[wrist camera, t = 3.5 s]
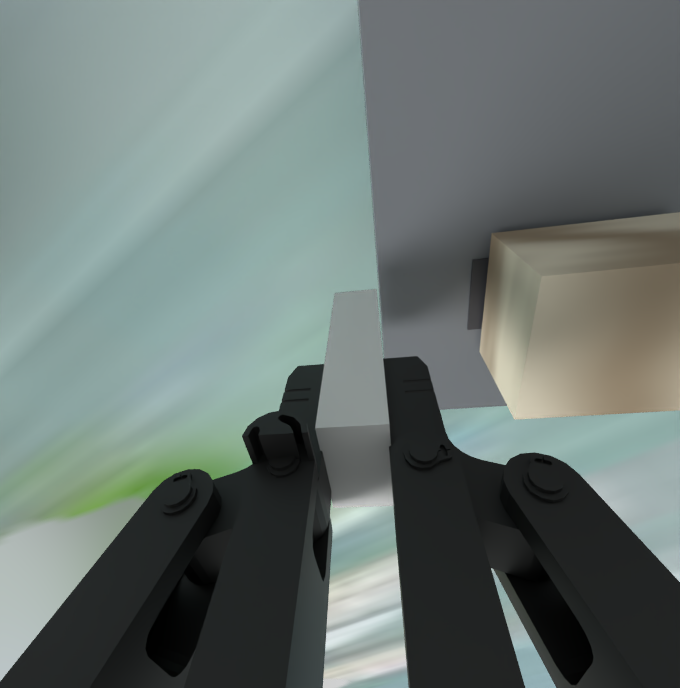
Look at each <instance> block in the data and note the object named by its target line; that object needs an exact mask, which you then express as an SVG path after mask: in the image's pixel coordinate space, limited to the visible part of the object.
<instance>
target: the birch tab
mask: <svg viewBox="0 0 680 688" xmlns="http://www.w3.org/2000/svg"><path fill="white" fill-rule="evenodd" d="M479 352H480V354H481V356H482V358H483V360H484V361H485V363H486V365H487V367H488V369H489V371H490V373H491V375H492V377H493V379H494V381H495V383H496V385H497V387H498V389H499V391H500V392H501V394H502V396H503V398H504V400H505V402H506V404H507V406H508V408H509V410H510V412H511V414H512V416H513V418H514V420H515V419H533V418H550V417H568V416H586V415H604V414H622V413H640V412H658V411H675V410H680V212H677V213H668V214H659V215H650V216H641V217H632V218H623V219H614V220H605V221H596V222H587V223H578V224H569V225H560V226H551V227H542V228H533V229H524V230H515V231H506V232H497V233H492V234H491V244H490V253H489V263H488V273H487V283H486V292H485V302H484V312H483V322H482V331H481V341H480V351H479Z"/></svg>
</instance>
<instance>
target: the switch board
mask: <svg viewBox="0 0 680 688" xmlns="http://www.w3.org/2000/svg"><path fill="white" fill-rule="evenodd" d="M358 13H359V27H360V40H361V54H362V67H363V81H364V95H365V108H366V122H367V135H368V149H369V163H370V176H371V190H372V203H373V217H374V231H375V244H376V258H377V272H378V285H379V299H380V312H381V326H382V340H383V353H384V358H398V357H411V356H418V357H419V358H420V359H421V360H422V361H423V362H424V363H425V364H426V365H427V366H428V370H429V373H430V377H431V381H432V384H433V388H434V392H435V395H436V399H437V403H438V406H439V410H442V409H459V408H475V407H492V406H507V404H506V402H505V400H504V398H503V396H502V394H501V392H500V391H499V389H498V387H497V385H496V383H495V381H494V379H493V377H492V375H491V373H490V371H489V369H488V367H487V365H486V363H485V361H484V360H483V358H482V356H481V354H480V352H479V351H480V341H481V331H482V322H483V312H484V302H485V292H486V283H487V273H488V263H489V253H490V244H491V234H492V233H497V232H506V231H515V230H524V229H533V228H542V227H551V226H560V225H569V224H578V223H587V222H596V221H605V220H614V219H623V218H632V217H641V216H650V215H659V214H668V213H677V212H680V0H358Z"/></svg>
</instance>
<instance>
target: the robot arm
mask: <svg viewBox="0 0 680 688" xmlns="http://www.w3.org/2000/svg"><path fill="white" fill-rule="evenodd" d="M242 437H243V440H244V443H245V445H246V448H247V450H248V453H249V455H250V458H251V460H252V463H253V464H252V465H251V466H249V467H247V468H246V469H243V470H241V471H238V472H236V473H233V474H230V475H227V476H224V477H220V478H217V479H214V480H212V479H211V477H210V475H209V474H208V473H206V472H204V471H202V470H200V469H188V470H185V471H182V472H179V473H176V474H174V475H172V476H171V477H169V478H167V479H166V480H164V481H163V482H162V483H161V484H160V485H159V486H158V487H157V488H156V489H155V490H154V491H153V492H152V493H151V494H150V495H149V497H148V498H147V499H146V500H145V502H144V503H143V504H142V505H141V507H140V508H139V509H138V511H137V512H136V513H135V514H134V516H133V517H132V518H131V519H130V521H129V522H128V523H127V524H126V525H125V527H124V528H123V529H122V530H121V532H120V533H119V534H118V536H117V537H116V538H115V539H114V540H113V542H112V543H111V544H110V545H109V547H108V548H107V549H106V550H105V552H104V553H103V554H102V555H101V557H100V558H99V559H98V560H97V562H96V563H95V564H94V566H93V567H92V568H91V569H90V570H89V572H88V573H87V574H86V575H85V577H84V578H83V579H82V580H81V582H80V583H79V584H78V585H77V587H76V588H75V589H74V590H73V592H72V593H71V594H70V595H69V597H68V598H67V599H66V600H65V602H64V603H63V604H62V605H61V607H60V608H59V609H58V610H57V611H56V613H55V614H54V615H53V617H52V618H51V619H50V620H49V622H48V623H47V624H46V625H45V627H44V628H43V629H42V630H41V631H40V633H39V634H38V635H37V637H36V638H35V639H34V640H33V641H32V643H31V644H30V645H29V646H28V648H27V649H26V650H25V652H24V653H23V654H22V655H21V656H20V658H19V659H18V660H17V662H16V663H15V664H14V665H13V666H12V668H11V669H10V670H9V671H8V673H7V674H6V675H5V676H4V678H3V679H2V680H1V681H0V688H323V687H322V686H323V672H324V657H325V641H326V625H327V610H328V594H329V578H330V563H331V547H332V525H331V519H330V505H331V500H332V504H333V508H336V507H369V506H394V516H395V530H396V543H397V554H398V566H399V577H400V589H401V601H402V613H403V625H404V637H405V649H406V661H407V673H408V685H409V688H525V685H524V682H523V679H522V675H521V672H520V668H519V665H518V661H517V658H516V654H515V651H514V647H513V644H512V640H511V637H510V633H509V630H508V627H507V623H506V620H505V616H504V613H503V609H502V606H501V602H500V599H499V595H498V592H497V588H496V585H495V581H494V578H493V575H492V571H491V568H493V569H494V571H495V573H496V575H497V576H498V578H499V580H500V582H501V584H502V586H503V588H504V590H505V592H506V593H507V595H508V597H509V599H510V601H511V603H512V605H513V607H514V608H515V610H516V612H517V614H518V616H519V618H520V620H521V622H522V624H523V625H524V627H525V629H526V631H527V633H528V635H529V637H530V639H531V640H532V642H533V644H534V646H535V648H536V650H537V652H538V654H539V656H540V657H541V659H542V661H543V663H544V665H545V667H546V669H547V671H548V673H549V674H550V676H551V678H552V680H553V682H554V684H555V686H556V688H680V582H679V581H678V580H677V579H676V578H675V577H674V576H673V575H672V573H671V572H670V571H669V570H668V569H667V568H666V567H665V566H664V565H663V564H662V563H661V562H660V561H659V560H658V558H657V557H656V556H655V555H654V554H653V553H652V552H651V551H650V550H649V549H648V548H647V547H646V546H645V544H644V543H643V542H642V541H641V540H640V539H639V538H638V537H637V536H636V535H635V534H634V533H633V532H632V530H631V529H630V528H629V527H628V526H627V525H626V524H625V523H624V522H623V521H622V520H621V519H620V518H619V517H618V515H617V514H616V513H615V512H614V511H613V510H612V509H611V508H610V507H609V506H608V505H607V504H606V503H605V501H604V500H603V499H602V498H601V497H600V496H599V495H598V494H597V493H596V492H595V491H594V490H593V489H592V487H591V486H590V485H589V484H588V483H587V482H586V481H585V480H584V479H583V478H582V477H581V476H580V475H579V474H578V473H577V472H576V471H575V470H574V469H572V468H571V467H570V466H569V465H567V464H566V463H564V462H562V461H560V460H558V459H556V458H554V457H552V456H549V455H544V454H539V453H524V454H519V455H517V456H515V457H513V458H511V459H510V460H509V461H508V463H507V464H506V465H502V464H497V463H493V462H488V461H484V460H480V459H477V458H474V457H471V456H469V455H467V454H465V453H463V452H461V451H460V450H459V449H458V448H456V447H455V446H454V445H453V444H452V442H451V441H450V440H449V439H448V436H447V434H446V432H445V428H444V425H443V421H442V417H441V414H440V410H439V406H438V403H437V399H436V395H435V392H434V388H433V384H432V381H431V377H430V373H429V370H428V366H427V365H426V364H425V363H424V362H423V361H422V360H421V359H420V358H419V357H418V356H411V357H398V358H384V359H383V353H382V342H381V332H380V322H379V311H378V301H377V291H376V289H371V290H361V291H350V292H340V293H335V294H334V301H333V308H332V315H331V322H330V329H329V336H328V343H327V349H326V356H325V363H324V364H320V365H307V366H298V367H297V368H296V369H295V370H294V371H293V372H292V374H291V375H290V376H289V377H288V380H287V384H286V387H285V392H284V394H283V398H282V403H281V405H280V409H279V411H276V412H271V413H268V414H266V415H264V416H261V417H259V418H257V419H256V420H255V421H254V422H253V423H251V424H250V425H249V426H248V427H247V429H246V430H245V432H244V434H243V435H242Z"/></svg>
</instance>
